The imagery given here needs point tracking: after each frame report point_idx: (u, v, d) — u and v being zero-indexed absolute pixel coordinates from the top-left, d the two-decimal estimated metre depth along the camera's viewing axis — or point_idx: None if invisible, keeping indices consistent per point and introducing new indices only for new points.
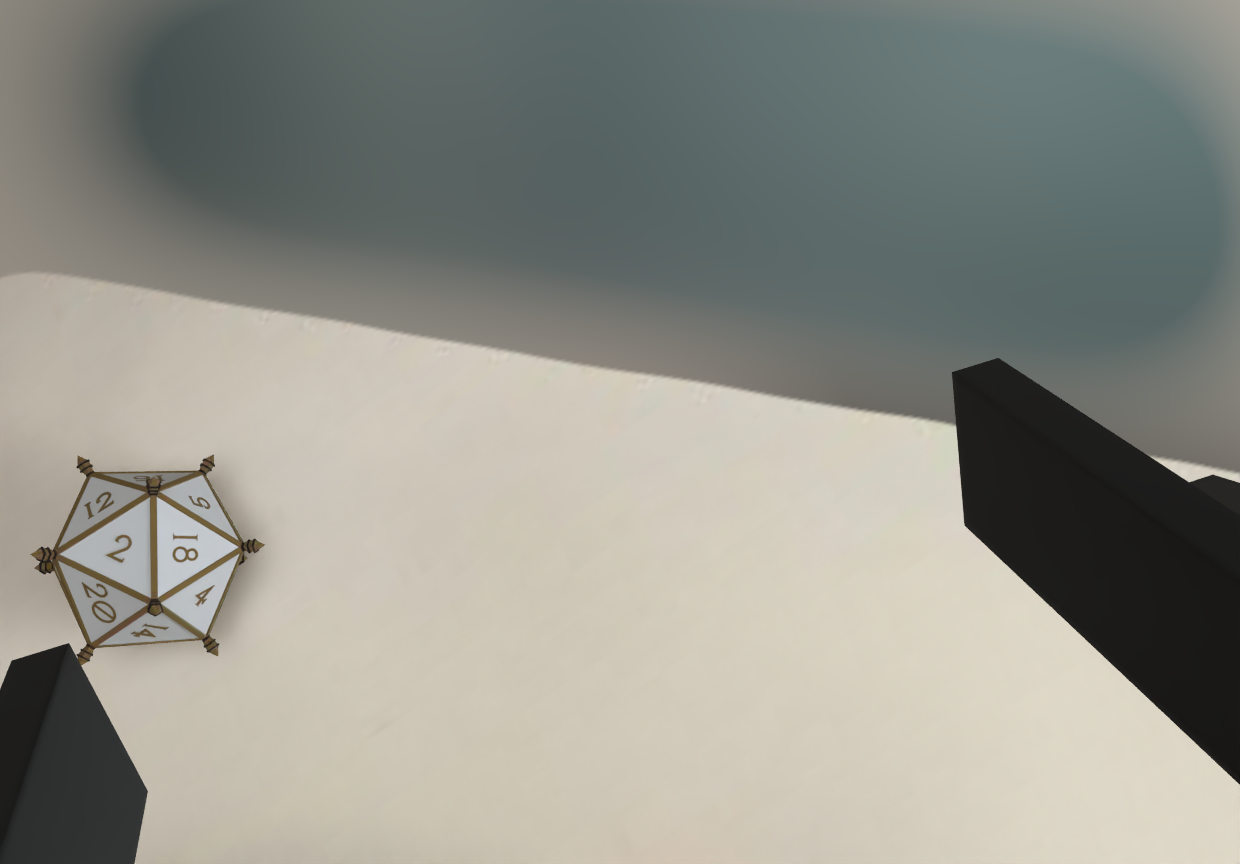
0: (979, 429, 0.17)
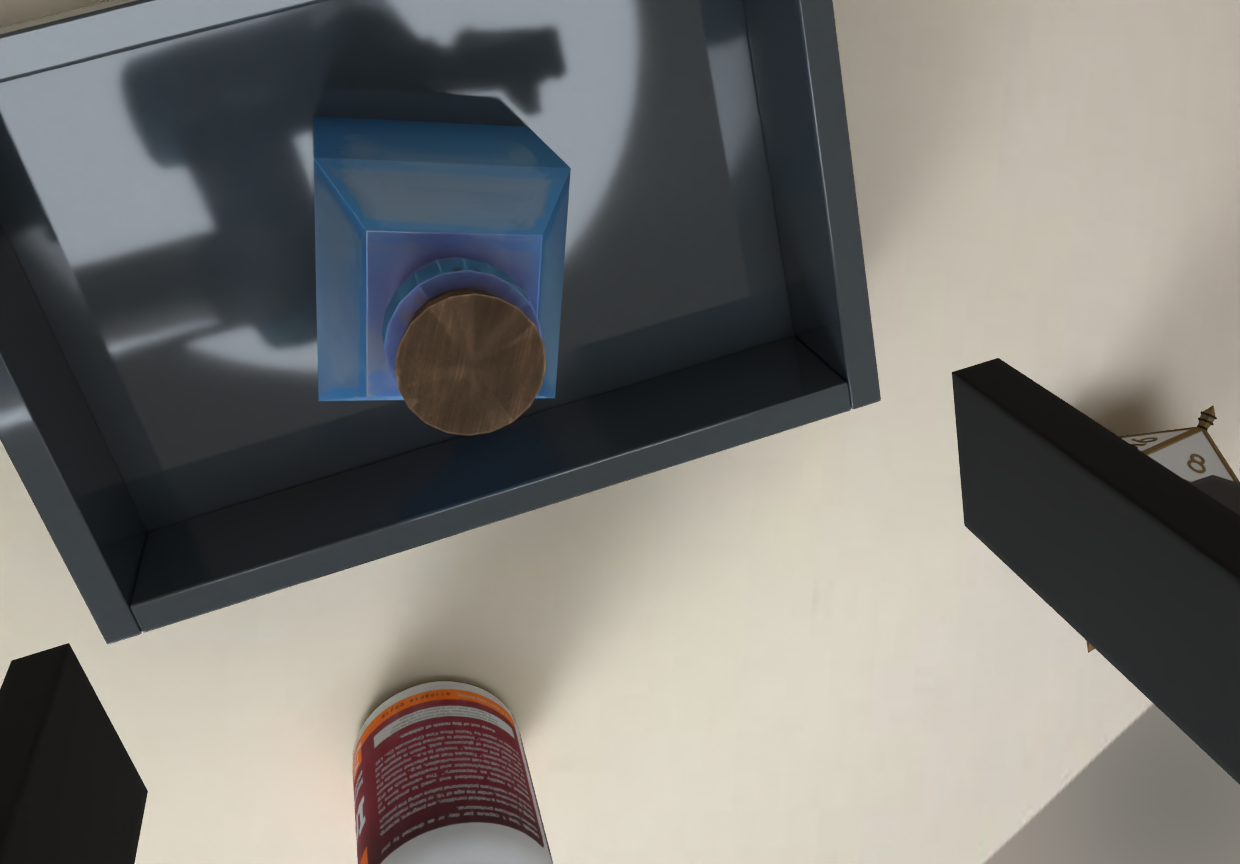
0: (979, 429, 0.17)
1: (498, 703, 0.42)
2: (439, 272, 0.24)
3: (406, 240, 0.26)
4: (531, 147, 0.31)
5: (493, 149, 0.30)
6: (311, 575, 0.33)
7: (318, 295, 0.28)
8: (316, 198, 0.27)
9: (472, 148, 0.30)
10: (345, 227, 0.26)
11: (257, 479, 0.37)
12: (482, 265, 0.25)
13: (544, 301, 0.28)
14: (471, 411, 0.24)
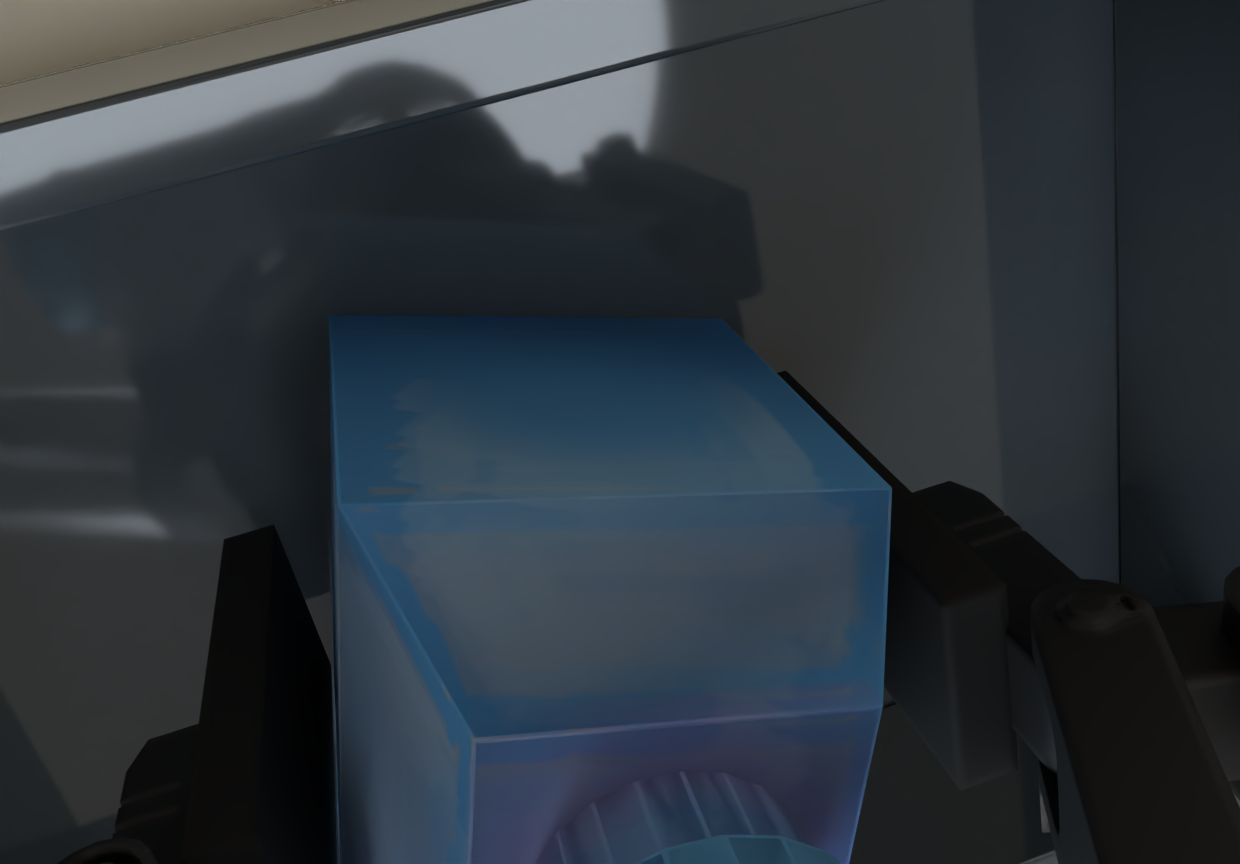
0: None
1: None
2: None
3: (567, 750, 0.10)
4: (768, 401, 0.15)
5: (701, 417, 0.15)
6: None
7: (344, 775, 0.13)
8: (342, 590, 0.12)
9: (660, 418, 0.15)
10: (414, 695, 0.11)
11: None
12: None
13: None
14: None
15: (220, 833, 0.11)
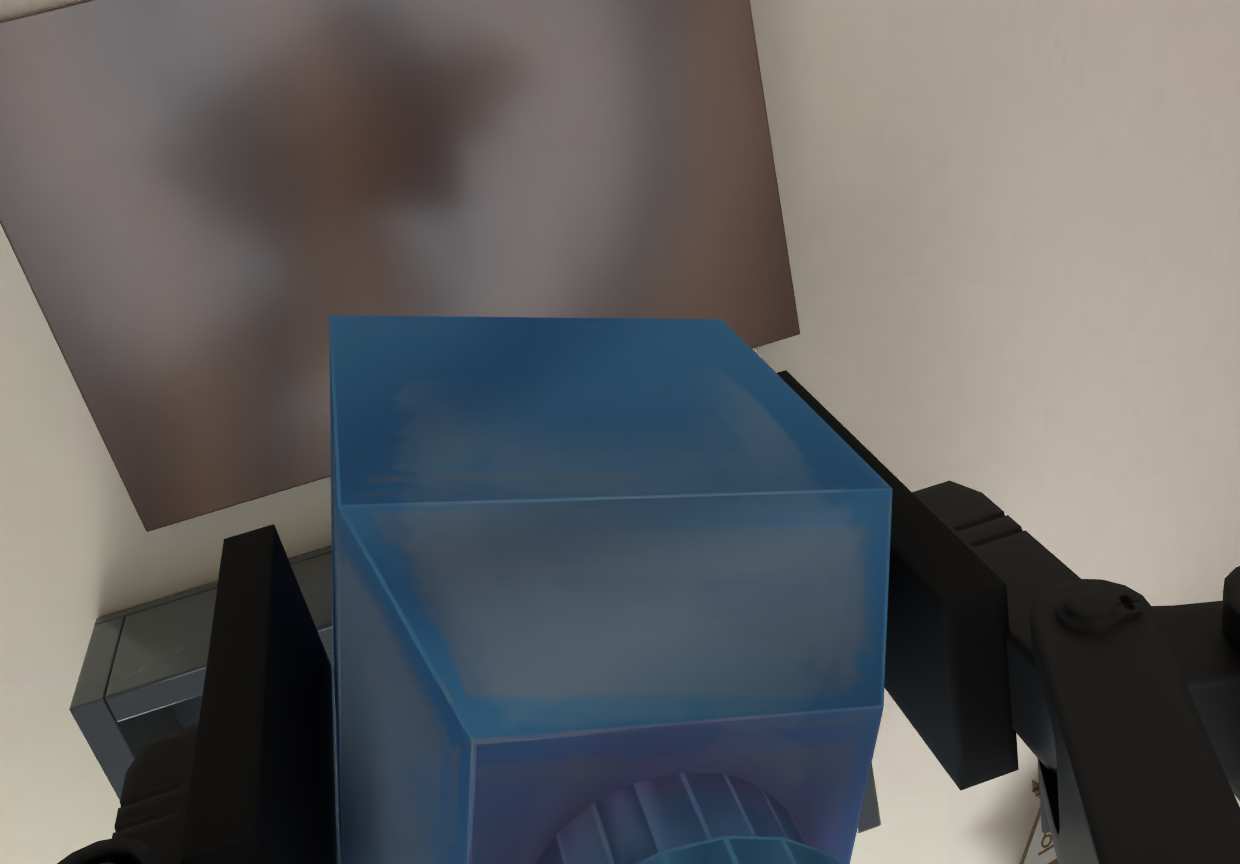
0: None
1: None
2: None
3: (567, 752, 0.10)
4: (768, 401, 0.15)
5: (701, 417, 0.15)
6: None
7: (344, 776, 0.13)
8: (342, 591, 0.12)
9: (661, 419, 0.15)
10: (415, 695, 0.11)
11: None
12: None
13: None
14: None
15: (220, 833, 0.11)
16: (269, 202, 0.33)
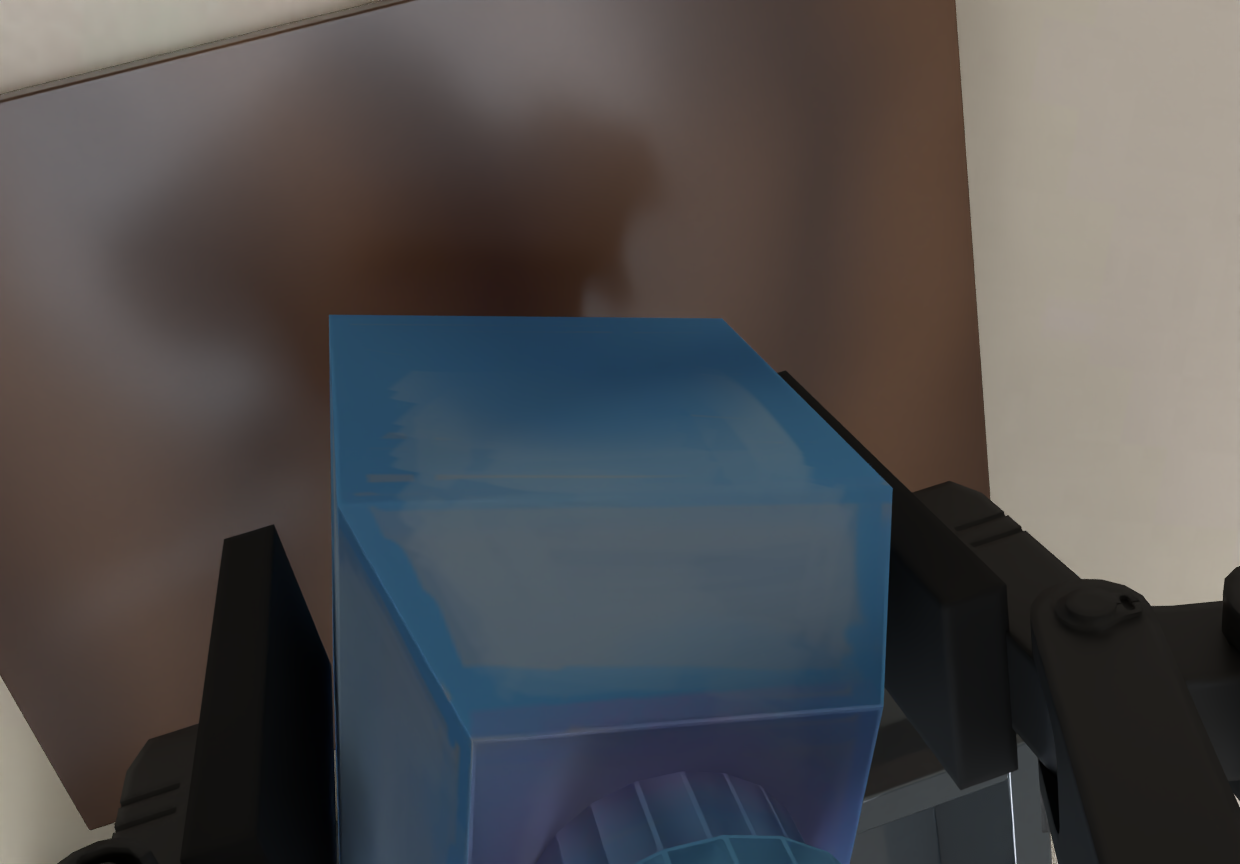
0: None
1: None
2: None
3: (568, 750, 0.10)
4: (768, 401, 0.15)
5: (701, 417, 0.15)
6: None
7: (344, 775, 0.13)
8: (342, 590, 0.12)
9: (661, 418, 0.15)
10: (415, 695, 0.11)
11: None
12: None
13: None
14: None
15: (220, 833, 0.11)
16: (264, 388, 0.22)
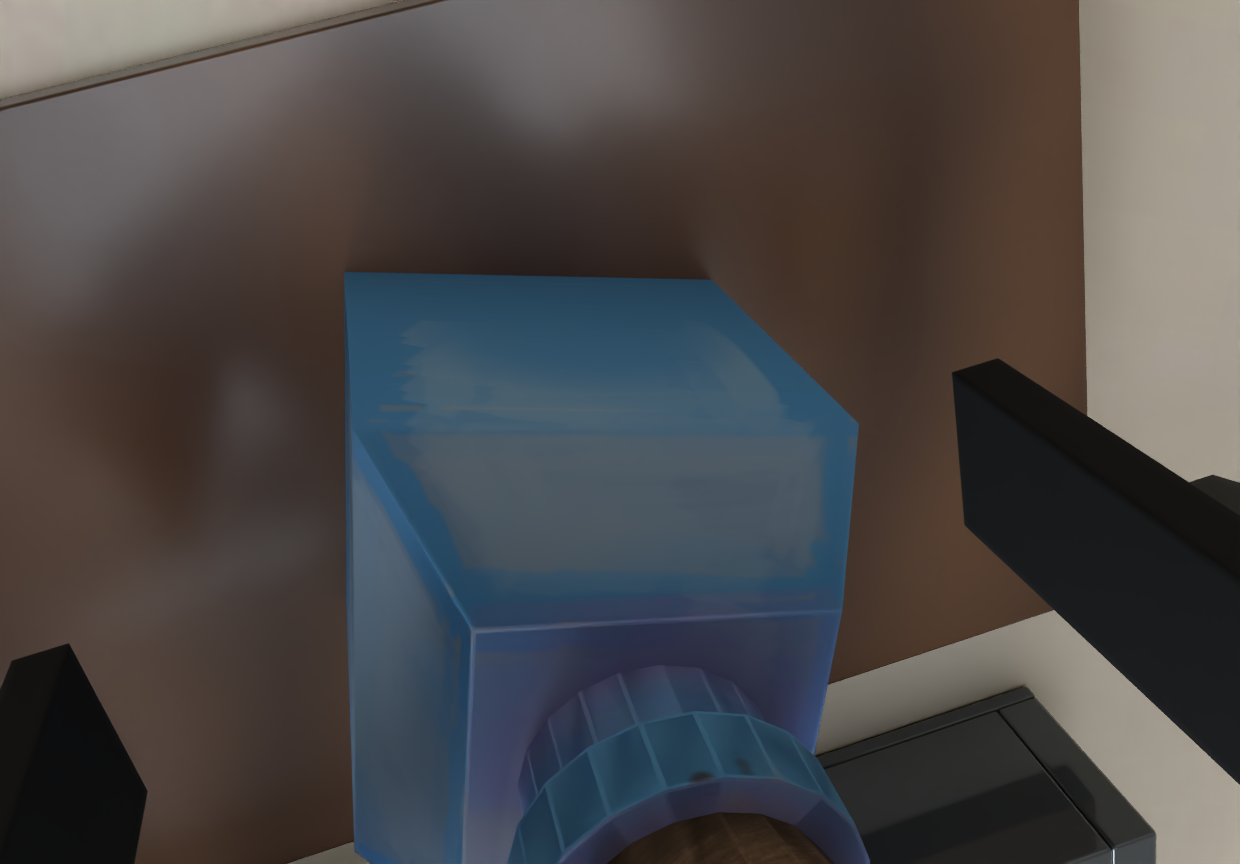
0: (979, 429, 0.17)
1: None
2: (657, 782, 0.10)
3: (557, 642, 0.12)
4: (750, 350, 0.17)
5: (687, 362, 0.16)
6: None
7: (358, 680, 0.14)
8: (357, 507, 0.13)
9: (649, 363, 0.16)
10: (422, 596, 0.12)
11: None
12: (744, 735, 0.11)
13: None
14: None
15: None
16: (276, 445, 0.19)
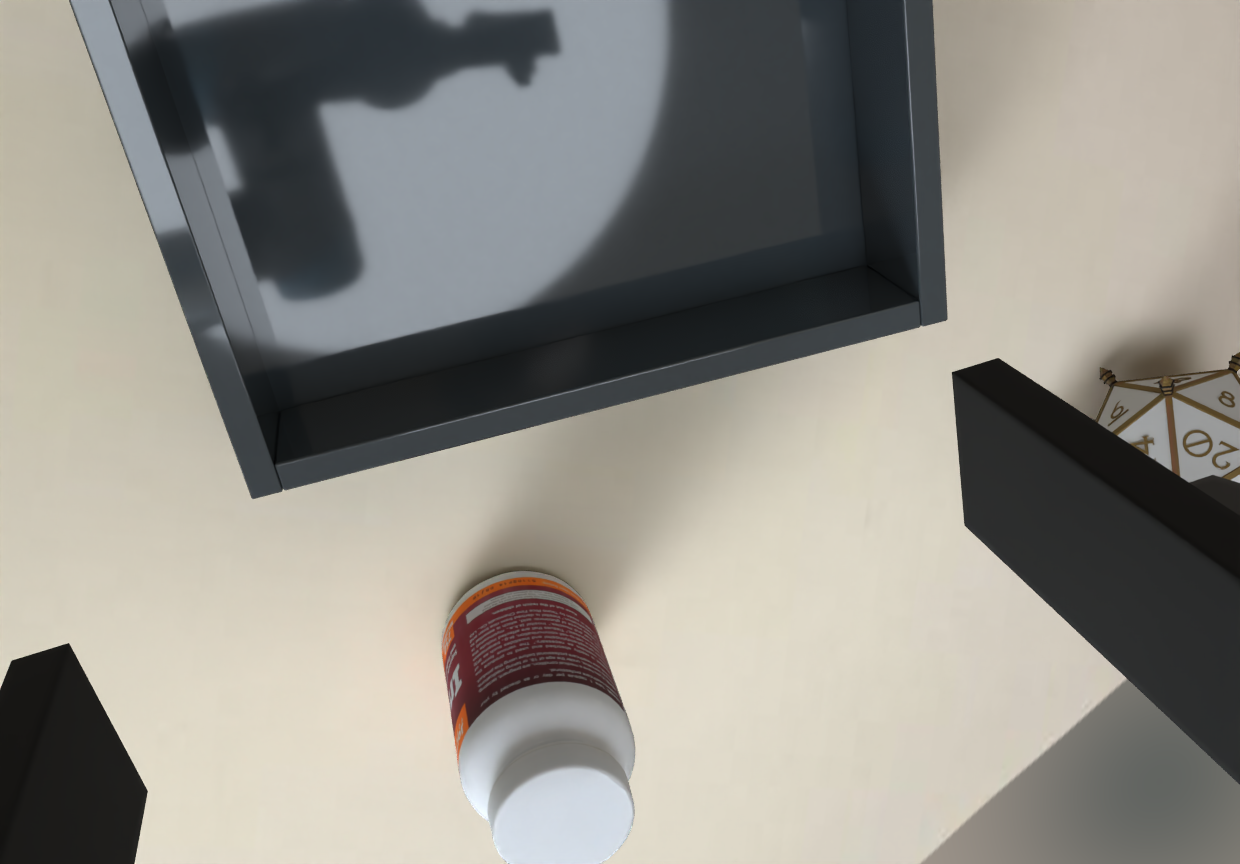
0: (979, 429, 0.17)
1: (577, 594, 0.46)
2: None
3: None
4: None
5: None
6: (434, 447, 0.37)
7: None
8: None
9: None
10: None
11: (380, 368, 0.41)
12: None
13: None
14: None
15: None
16: None
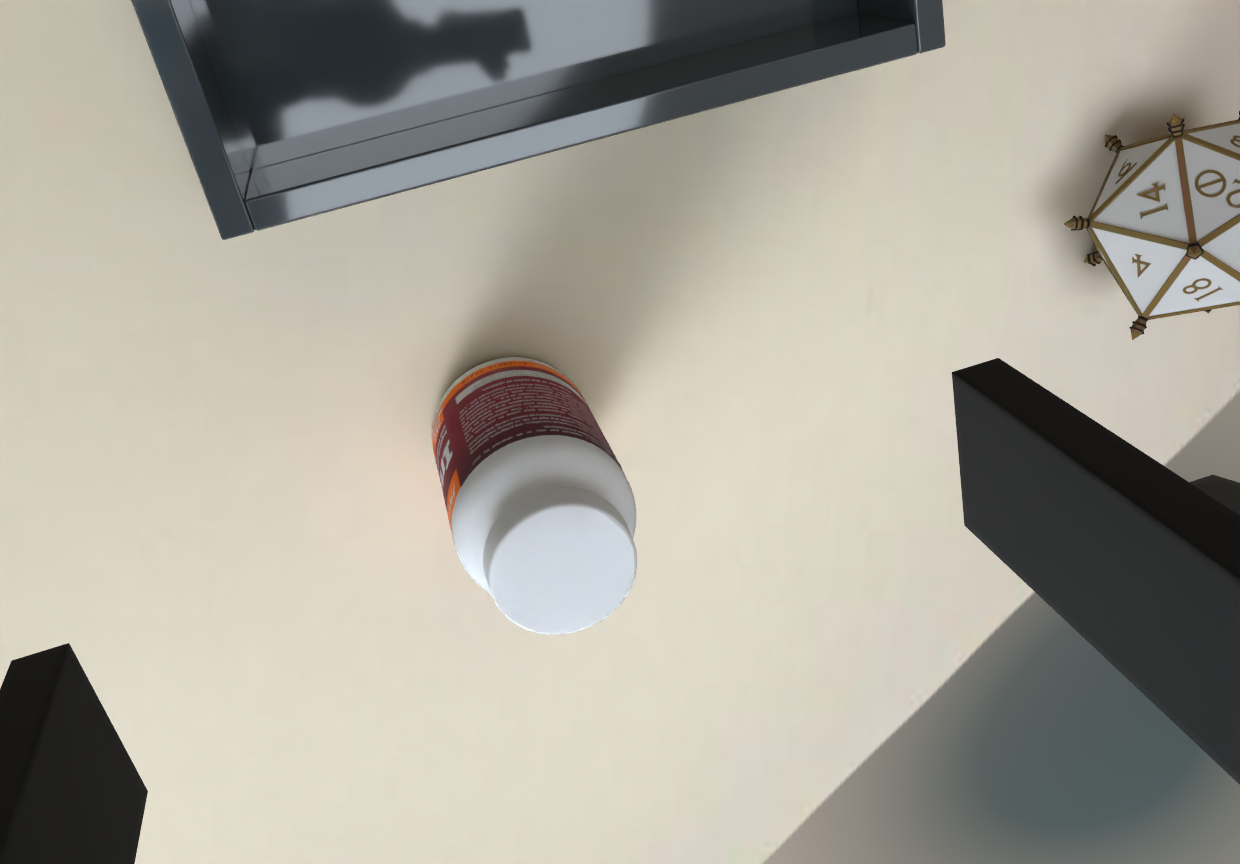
0: (979, 429, 0.17)
1: (570, 381, 0.44)
2: None
3: None
4: None
5: None
6: (412, 183, 0.35)
7: None
8: None
9: None
10: None
11: (354, 124, 0.39)
12: None
13: None
14: None
15: None
16: None
